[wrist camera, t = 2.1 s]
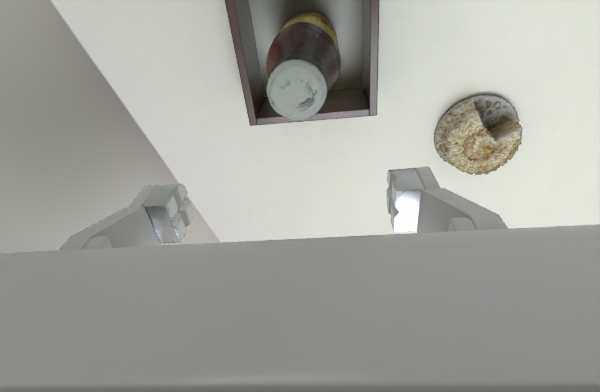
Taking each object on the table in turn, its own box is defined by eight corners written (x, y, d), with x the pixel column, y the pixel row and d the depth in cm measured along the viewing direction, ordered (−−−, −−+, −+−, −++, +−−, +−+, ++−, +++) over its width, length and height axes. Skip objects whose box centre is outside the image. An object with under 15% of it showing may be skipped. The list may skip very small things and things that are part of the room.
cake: (489, 170, 48) (503, 195, 44) (420, 155, 47) (428, 178, 43) (535, 104, 42) (557, 126, 37) (455, 85, 41) (469, 105, 37)
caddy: (370, -42, 34) (380, -41, 29) (369, 93, 42) (377, 115, 36) (236, -25, 36) (220, -21, 30) (259, 103, 43) (249, 125, 38)
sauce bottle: (338, 65, 40) (350, 140, 24) (285, 72, 41) (262, 149, 25) (333, 1, 37) (343, 38, 20) (275, 10, 38) (240, 53, 21)
